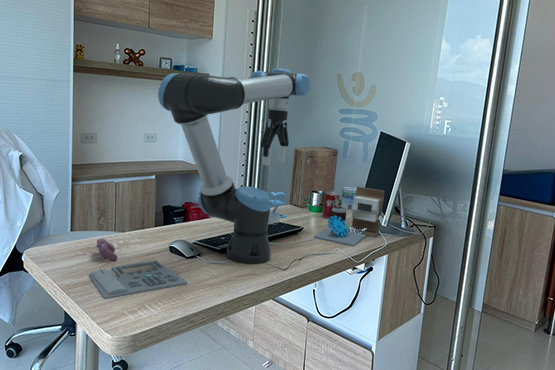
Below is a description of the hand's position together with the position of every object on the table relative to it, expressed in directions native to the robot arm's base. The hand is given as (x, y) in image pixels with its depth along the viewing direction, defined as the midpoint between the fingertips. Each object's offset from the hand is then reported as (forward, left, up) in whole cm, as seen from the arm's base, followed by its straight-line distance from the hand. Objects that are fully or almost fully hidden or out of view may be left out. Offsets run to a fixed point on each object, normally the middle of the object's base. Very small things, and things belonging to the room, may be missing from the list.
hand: (273, 163), depth 189 cm
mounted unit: (+30, -32, -29) cm, 52 cm away
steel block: (+16, +6, -29) cm, 34 cm away
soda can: (+44, -11, -29) cm, 54 cm away
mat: (+16, -26, -29) cm, 42 cm away
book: (+65, +7, -29) cm, 72 cm away
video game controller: (-60, +27, -29) cm, 72 cm away
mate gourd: (+34, -18, -29) cm, 48 cm away
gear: (+16, -25, -28) cm, 41 cm away
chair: (+27, +10, -29) cm, 41 cm away
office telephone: (-68, +8, -29) cm, 75 cm away
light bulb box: (+73, -13, -29) cm, 80 cm away
